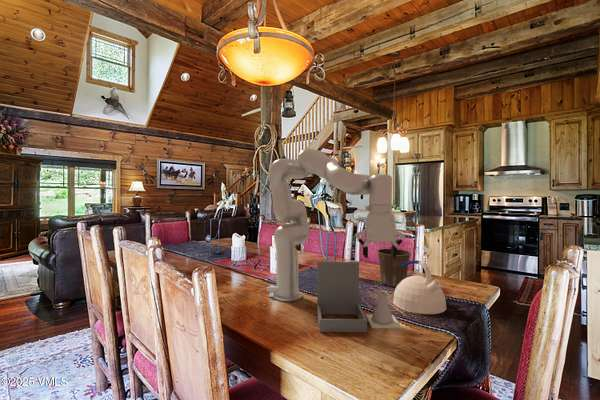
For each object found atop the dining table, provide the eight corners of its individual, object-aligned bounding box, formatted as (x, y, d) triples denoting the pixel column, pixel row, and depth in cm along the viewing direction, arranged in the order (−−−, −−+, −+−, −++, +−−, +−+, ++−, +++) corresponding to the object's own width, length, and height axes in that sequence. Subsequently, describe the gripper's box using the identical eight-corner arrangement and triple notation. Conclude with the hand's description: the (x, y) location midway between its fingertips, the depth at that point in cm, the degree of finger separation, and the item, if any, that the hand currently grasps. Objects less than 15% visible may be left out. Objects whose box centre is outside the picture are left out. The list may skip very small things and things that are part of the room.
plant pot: (415, 288, 147) (415, 254, 146) (381, 288, 147) (381, 254, 147) (404, 279, 163) (404, 248, 163) (373, 278, 163) (373, 248, 163)
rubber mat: (371, 328, 104) (371, 326, 104) (365, 316, 114) (365, 315, 114) (401, 328, 104) (401, 327, 104) (393, 316, 114) (393, 315, 114)
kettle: (418, 318, 113) (418, 269, 112) (382, 300, 132) (382, 257, 131) (459, 310, 120) (459, 264, 120) (420, 294, 140) (420, 254, 139)
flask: (381, 326, 105) (381, 297, 104) (367, 318, 111) (367, 291, 111) (397, 322, 108) (398, 294, 108) (383, 315, 114) (383, 288, 114)
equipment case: (319, 331, 102) (319, 272, 101) (317, 312, 118) (317, 261, 118) (367, 332, 102) (367, 272, 101) (358, 312, 118) (358, 261, 117)
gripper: (357, 210, 106) (356, 259, 107) (408, 210, 106) (407, 260, 106) (354, 208, 114) (353, 255, 114) (401, 209, 113) (400, 255, 114)
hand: (379, 257), depth 110 cm, fingers open, 9 cm apart
